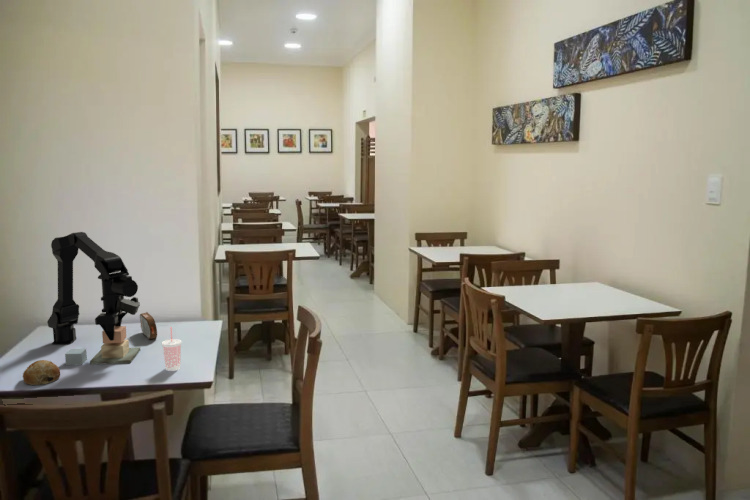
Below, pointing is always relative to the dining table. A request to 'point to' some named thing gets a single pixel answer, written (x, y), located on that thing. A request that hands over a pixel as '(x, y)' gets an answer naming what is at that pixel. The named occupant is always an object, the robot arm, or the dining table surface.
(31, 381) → the bread roll
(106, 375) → the dining table surface
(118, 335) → the terracotta brick
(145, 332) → the tin
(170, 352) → the beverage cup
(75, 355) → the gray brick
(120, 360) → the build board
